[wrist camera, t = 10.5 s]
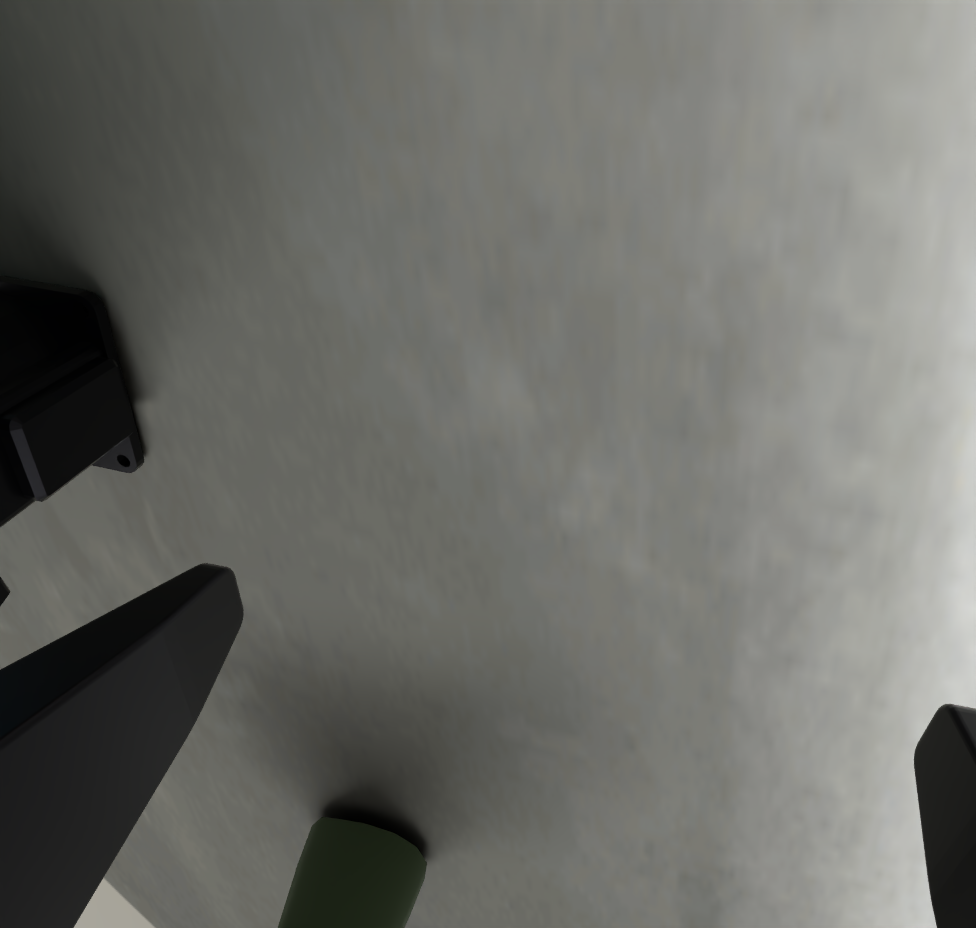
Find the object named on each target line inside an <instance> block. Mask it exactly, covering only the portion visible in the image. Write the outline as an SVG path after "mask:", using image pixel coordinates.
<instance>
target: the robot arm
mask: <svg viewBox="0 0 976 928" xmlns="http://www.w3.org/2000/svg"><path fill="white" fill-rule="evenodd" d="M83 304H84V305H85V306H86V307H87V309H88V311H89V312H88V311H87V310H86V309H85V307H84V305H83ZM143 463H144V456H143V452H142V449H141V445H140V441H139V437H138V433H137V429H136V426H135V422H134V418H133V414H132V410H131V406H130V403H129V399H128V395H127V391H126V387H125V383H124V379H123V376H122V372H121V368H120V364H119V360H118V356H117V353H116V349H115V345H114V341H113V337H112V333H111V330H110V326H109V322H108V318H107V314H106V310H105V307H104V305H103V303H102V301H101V300H100V299H99V297H98V296H97V295H95V294H94V293H93V292H90V291H87V290H83V289H77V288H71V287H65V286H59V285H53V284H47V283H41V282H35V281H29V280H23V279H17V278H11V277H5V276H0V527H2V526H3V525H4V524H6V523H7V522H8V521H10V520H11V519H12V518H14V517H15V516H16V515H17V514H19V513H20V512H21V511H23V510H24V509H25V508H27V507H28V506H29V505H31V504H32V503H33V502H35V501H41V502H42V501H44V500H47V499H48V498H49V497H50V496H52V495H53V494H54V493H56V492H57V491H58V490H60V489H61V488H62V487H64V486H65V485H66V484H67V483H69V482H70V481H71V480H73V479H74V478H75V477H77V476H78V475H79V474H80V473H82V472H83V471H84V470H86V469H87V468H88V467H90V466H91V465H93V466H98V467H103V468H107V469H112V470H117V471H121V472H126V473H132V472H134V471H136V470H137V469H138V468H139V467H140V466H142V465H143ZM9 593H10V590H9V589H8V587H7V586H6V584H5V583H4V581H3V580H2V578H1V577H0V606H1V604H2V603H3V602H4V600H5V599H6V598H7V596H8V595H9ZM242 620H243V605H242V601H241V597H240V593H239V590H238V586H237V582H236V578H235V574H234V572H233V571H232V570H231V569H230V568H228V567H224V566H219V565H214V564H208V563H204V564H200V565H197V566H195V567H193V568H191V569H190V570H188V571H186V572H184V573H182V574H180V575H178V576H176V577H174V578H173V579H171V580H169V581H167V582H165V583H163V584H161V585H159V586H157V587H156V588H154V589H152V590H150V591H148V592H146V593H144V594H142V595H140V596H139V597H137V598H135V599H133V600H131V601H129V602H127V603H125V604H123V605H122V606H120V607H118V608H116V609H114V610H112V611H110V612H108V613H106V614H105V615H103V616H101V617H99V618H97V619H95V620H93V621H91V622H89V623H88V624H86V625H84V626H82V627H80V628H78V629H76V630H74V631H72V632H71V633H69V634H67V635H65V636H63V637H61V638H59V639H57V640H55V641H54V642H52V643H50V644H48V645H46V646H44V647H42V648H40V649H39V650H37V651H35V652H33V653H31V654H29V655H27V656H25V657H23V658H22V659H20V660H18V661H16V662H14V663H12V664H10V665H8V666H6V667H5V668H3V669H1V670H0V928H74V926H75V924H76V923H77V921H78V919H79V918H80V916H81V914H82V912H83V911H84V909H85V907H86V906H87V904H88V902H89V901H90V899H91V897H92V896H93V894H94V892H95V891H96V889H97V887H98V886H99V884H100V882H101V881H102V879H103V877H104V876H105V874H106V872H107V871H108V869H109V867H110V866H111V864H112V862H113V861H114V859H115V857H116V856H117V854H118V852H119V851H120V849H121V847H122V846H123V844H124V842H125V840H126V839H127V837H128V835H129V834H130V832H131V830H132V829H133V827H134V825H135V824H136V822H137V820H138V819H139V817H140V815H141V814H142V812H143V810H144V809H145V807H146V805H147V804H148V802H149V800H150V799H151V797H152V795H153V794H154V792H155V790H156V789H157V787H158V785H159V784H160V782H161V780H162V779H163V777H164V775H165V774H166V772H167V770H168V769H169V767H170V765H171V763H172V762H173V760H174V758H175V757H176V755H177V753H178V752H179V750H180V748H181V747H182V745H183V743H184V742H185V740H186V738H187V737H188V735H189V733H190V731H191V729H192V728H193V726H194V724H195V722H196V720H197V718H198V716H199V714H200V712H201V710H202V708H203V706H204V704H205V702H206V700H207V698H208V696H209V693H210V691H211V689H212V687H213V685H214V683H215V681H216V678H217V676H218V674H219V672H220V670H221V668H222V666H223V663H224V661H225V659H226V657H227V655H228V653H229V651H230V648H231V646H232V644H233V642H234V640H235V638H236V636H237V633H238V631H239V629H240V627H241V624H242ZM914 769H915V777H916V785H917V793H918V801H919V810H920V818H921V826H922V834H923V842H924V850H925V858H926V867H927V875H928V882H929V889H930V895H931V901H932V906H933V911H934V915H935V920H936V925H937V928H976V709H975V708H970V707H964V706H959V705H954V704H945V705H943V706H941V707H940V708H939V709H938V710H937V712H936V713H935V715H934V717H933V718H932V720H931V722H930V723H929V725H928V727H927V728H926V730H925V732H924V734H923V735H922V737H921V739H920V740H919V742H918V744H917V746H916V749H915V755H914Z"/></svg>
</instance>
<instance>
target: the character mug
mask: <svg viewBox="0 0 976 928" xmlns="http://www.w3.org/2000/svg"><path fill="white" fill-rule="evenodd" d="M426 865H427V863H426V861H425V859H424V858H423V856H422V855H421V853H420V852H419V850H418V848H417V847H416V846H414V845H413V844H411V843H410V842H408V841H406V840H405V839H403V838H401V837H400V836H398V835H397V834H395V833H392V832H389V831H386V830H383V829H380V828H377V827H374V826H371V825H368V824H364V823H363V822H353V821H348V820H342V819H335V818H326V817H322V818H321V819H319V820H318V821H317V822H316V823H315V824H314V825H312V827H311V830H310V833H309V835H308V838H307V841H306V844H305V846H304V849H303V852H302V854H301V857H300V860H299V863H298V865H297V868H296V872H295V875H294V878H293V881H292V884H291V887H290V891H289V894H288V897H287V900H286V903H285V907H284V910H283V913H282V916H281V919H280V922H279V926H278V928H404V927H405V925H406V923H407V921H408V918H409V916H410V914H411V911H412V909H413V906H414V904H415V901H416V899H417V896H418V894H419V891H420V889H421V886H422V884H423V881H424V878H425V872H426Z"/></svg>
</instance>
